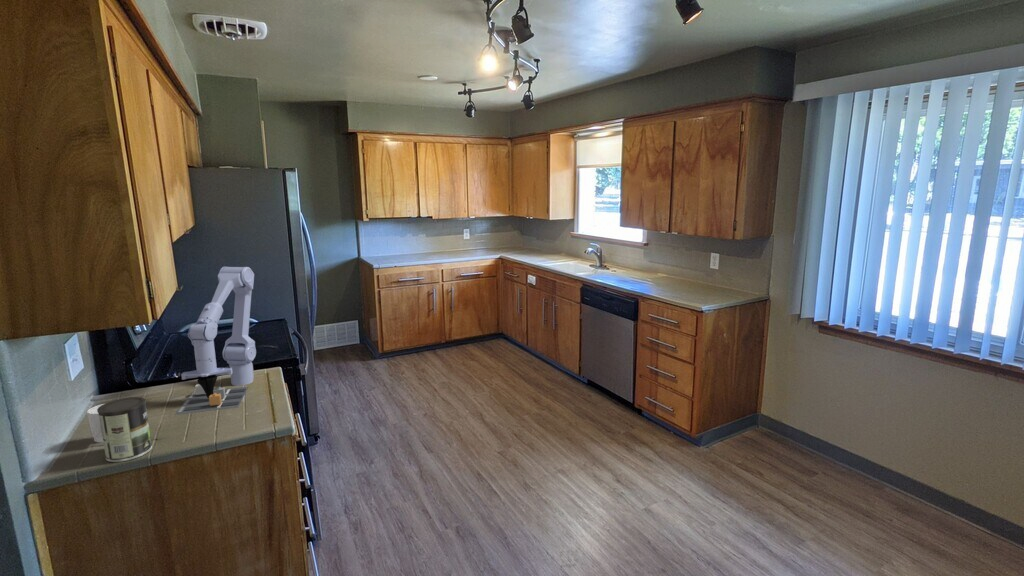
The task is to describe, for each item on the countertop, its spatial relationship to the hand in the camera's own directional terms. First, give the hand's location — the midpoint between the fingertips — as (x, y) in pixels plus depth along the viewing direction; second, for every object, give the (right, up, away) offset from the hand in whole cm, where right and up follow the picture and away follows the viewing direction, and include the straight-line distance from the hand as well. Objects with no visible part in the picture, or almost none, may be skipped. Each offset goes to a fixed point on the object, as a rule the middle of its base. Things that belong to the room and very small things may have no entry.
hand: (210, 396), depth 168 cm
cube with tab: (-6, 0, +5) cm, 7 cm away
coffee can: (-3, -9, -32) cm, 33 cm away
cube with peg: (+3, -1, +1) cm, 3 cm away
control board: (+1, -2, +1) cm, 3 cm away
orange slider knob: (+5, -2, -4) cm, 7 cm away
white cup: (-13, -7, -25) cm, 29 cm away
